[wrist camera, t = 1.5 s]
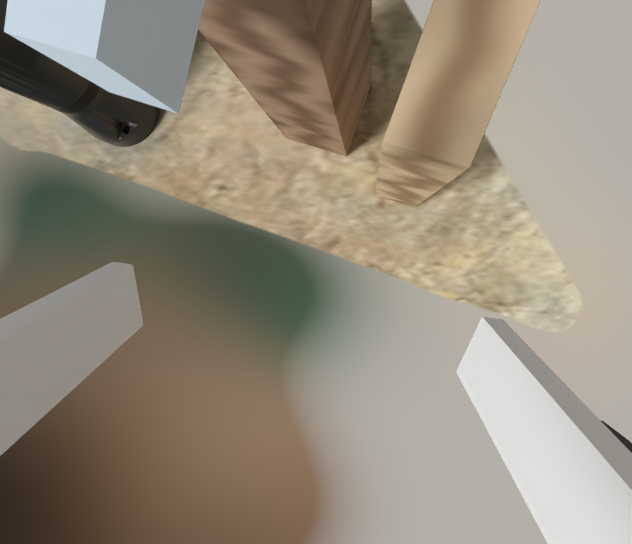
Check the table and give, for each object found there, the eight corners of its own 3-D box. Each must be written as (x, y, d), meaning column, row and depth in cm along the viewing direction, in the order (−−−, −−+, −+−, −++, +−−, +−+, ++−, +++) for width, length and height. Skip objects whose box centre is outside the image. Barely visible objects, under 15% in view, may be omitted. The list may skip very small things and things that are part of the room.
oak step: (375, 194, 40) (382, 142, 19) (400, 126, 38) (440, -19, 17) (414, 207, 39) (469, 167, 18) (442, 137, 38) (540, 0, 16)
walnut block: (285, 137, 42) (90, -105, 12) (306, 69, 40) (136, -397, 11) (346, 156, 40) (287, -68, 11) (370, 86, 39) (375, -398, 9)
